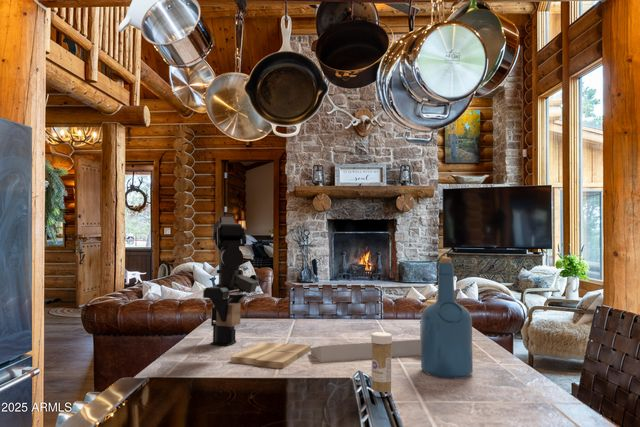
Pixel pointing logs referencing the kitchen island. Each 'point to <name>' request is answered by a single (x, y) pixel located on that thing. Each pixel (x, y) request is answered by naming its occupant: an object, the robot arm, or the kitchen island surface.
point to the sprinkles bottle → (381, 361)
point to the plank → (254, 353)
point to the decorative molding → (363, 351)
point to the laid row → (283, 355)
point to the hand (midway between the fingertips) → (228, 320)
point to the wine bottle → (446, 331)
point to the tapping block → (230, 315)
